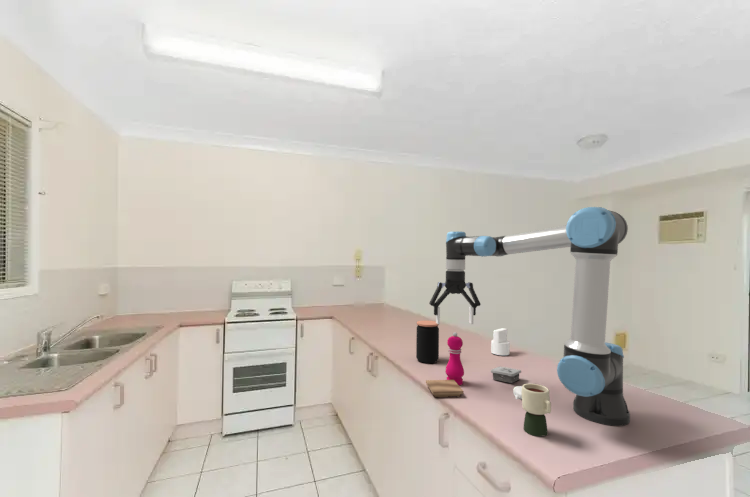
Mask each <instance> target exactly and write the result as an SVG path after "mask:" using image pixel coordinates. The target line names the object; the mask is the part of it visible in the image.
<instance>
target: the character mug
mask: <svg viewBox="0 0 750 497" xmlns="http://www.w3.org/2000/svg"><path fill="white" fill-rule="evenodd" d="M521 386H522V399H521V406H522V409H523V410H524V411H525V415H524V421H523V431H524V432H525V433H527V435H530V436H532V437H533V436H534V437H547V436H548V433H549V432H548V425H547V418H546V415H547V414H551V413H552V403H551V401H550V400H551V399H550V390H549V388H548V387H546V386H545V385H542V384H537V383H524V384H522V385H521Z"/></svg>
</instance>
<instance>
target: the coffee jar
mask: <svg viewBox="0 0 750 497" xmlns="http://www.w3.org/2000/svg"><path fill="white" fill-rule="evenodd" d="M439 326H440V324H437V323H436V320H418V321H416V339H415V340H416V345H415V346H416V347H415V348H416V352H415V354H416V360H417V361H418V362H420V363H425V364H434V363H437V362H438V360H439V357H440V356H439V355H440V354H439V352H440V350H439V349H440V344H439V343H440V330H439Z"/></svg>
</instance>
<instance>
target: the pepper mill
mask: <svg viewBox="0 0 750 497" xmlns="http://www.w3.org/2000/svg"><path fill="white" fill-rule="evenodd" d="M446 343H447V346H448V353H449V359H448V362H447V364H446V366H445V375H446V376H447V377H446V380H454V381H455V382H456V383H457V384H458V385H459V386H462V385H463V384H464V380H463V376H464V375H465V370H464V366H463V364H462V361H461V354H462V347H463V345H464V343H463V340H462V338H461V337H460V336H458V333H457V332H456V331H455V332H452V335H451V336H449V337H448V339H447V342H446Z"/></svg>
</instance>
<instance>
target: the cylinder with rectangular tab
mask: <svg viewBox="0 0 750 497" xmlns="http://www.w3.org/2000/svg"><path fill="white" fill-rule="evenodd" d="M492 333H493V334H492V335H493V336H492V338H493V339H491V342H490V352H491V354H494V355H497V356H509V355H510V354H511V353H510V341H509V340H508V328H504V327H501V328H497V329H494V330H493V332H492Z"/></svg>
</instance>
